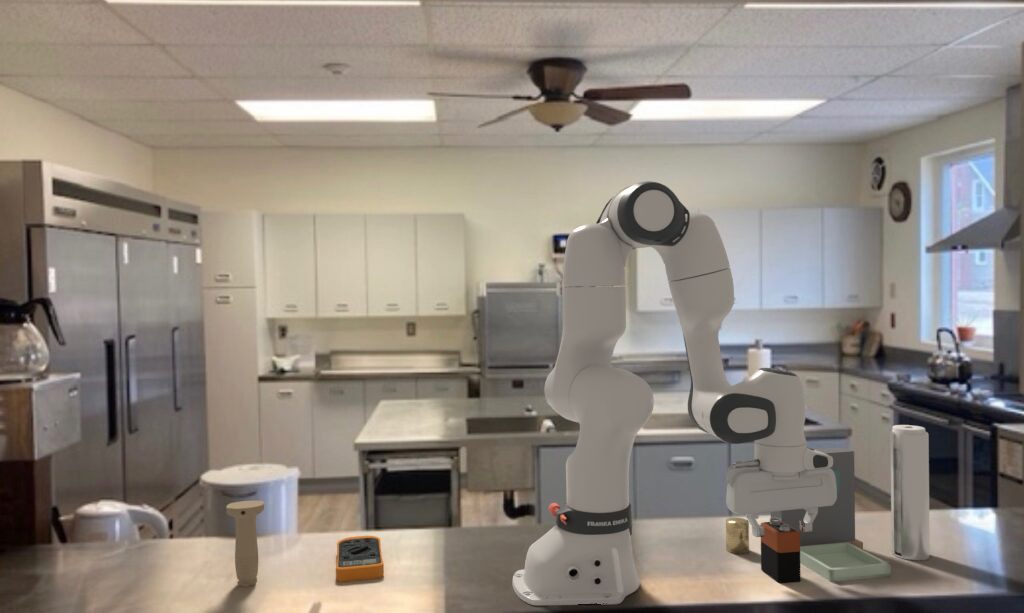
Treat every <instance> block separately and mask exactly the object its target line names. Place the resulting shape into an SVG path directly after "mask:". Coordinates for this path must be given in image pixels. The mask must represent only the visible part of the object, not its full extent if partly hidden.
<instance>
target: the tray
mask: <svg viewBox="0 0 1024 613" xmlns="http://www.w3.org/2000/svg"><path fill="white" fill-rule="evenodd" d="M800 565H803V566H804V567H806V568H807V569H809V570H811V571H812V572H814V573H815V574H818V575H819V576H820V577H822V578H824V579H825V580H827V581H829V582H830V583H831V582H842V581H851V580H853V581H854V580H862V579H871V578H872V579H873V578H882V577H884V578H885V577H891V574H892V572H891V569H892V568H891V563H890V562H887V561H885V560H884V559H881V558H879V557H877V556H875V555H874V554H872V553H869V552H867V551H866V550H864V549H863V550H862V549H860V548H858V547H856V546H854V545H852V544H851V543H849V542H845V543H834V544H823V545H812V546H801V547H800Z"/></svg>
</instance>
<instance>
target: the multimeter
mask: <svg viewBox="0 0 1024 613" xmlns="http://www.w3.org/2000/svg"><path fill="white" fill-rule="evenodd" d="M381 546H382V545H381V538H380V537H378V536H374V535H361V536H360V535H358V536H350V537H349V536H348V537H345V538H342V539H340V540H339V541H337V543H336V548H337V552H336V553H337V555H336V566H335V577H336V578H335V579H336V581H337V582H340V583H343V582H355V581H365V580H366V581H367V580H375V579H381V578H383V577H384V573H385V568H384V567H385V566H384V561H383V556H382V547H381Z"/></svg>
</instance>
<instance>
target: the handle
mask: <svg viewBox="0 0 1024 613" xmlns="http://www.w3.org/2000/svg"><path fill="white" fill-rule="evenodd" d="M225 509H226V515H228V516H229V517H233V518H234V519H235V547H234V548H235V549H234V550H235V551H234V566H235V574H236V578H237V580H238V581H237V582H236V583H237V587H243V588H248V587H250V586H256V584H257V582H258V574H259V572H258V571H259V547H258V535H257V534H258V533H257V524H256V519H257V516H259V514H261V513H262V512H263V511H264V510H265V502H264V500H243V501H235V502H230V503H228V504H227V505H226V508H225Z"/></svg>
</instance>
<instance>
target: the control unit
mask: <svg viewBox="0 0 1024 613" xmlns="http://www.w3.org/2000/svg"><path fill="white" fill-rule="evenodd" d="M813 449H814V450H817V451H820V452H822V453H825V454H827V455H829V456H831V457H832V458H833V465H832V467H830V469H832V470H833V472H834V474H835V478H836V486H837V500H836V501H835V503H834V504H833V505H832V506H824V507H818V513H817V515H816V517H815V519H814V521H813V522H812V531H811V532H803V531H801V530H800V524H799V520H803V519H804V517H805V514H806V512H807V511H806V510H804V509H794V510H784V511H774V512H770V518H779V519H781V522H783V523H785V524H787V525H789V526H790V527H792V528H793V529H795V530H797V531H798V532H799V533H800V547H801V546H812V545H823V544H834V543H845V542H849V543H851V544H852V545H854V546H856V547H858V548H860V549H862V550H864V542H863V541H861V540H859V539H857V538H856V509H855V508H856V507H855V506H856V504H855V503H856V502H855V501H856V498H855V497H856V495H855V494H856V492H855V491H856V488H855V487H856V486H855V485H856V483H855V478H856V477H855V451H854V450H851V449H848V448H846V447H840V446H839V447H838V446H837V447H826V448H825V447H824V448H813Z"/></svg>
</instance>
